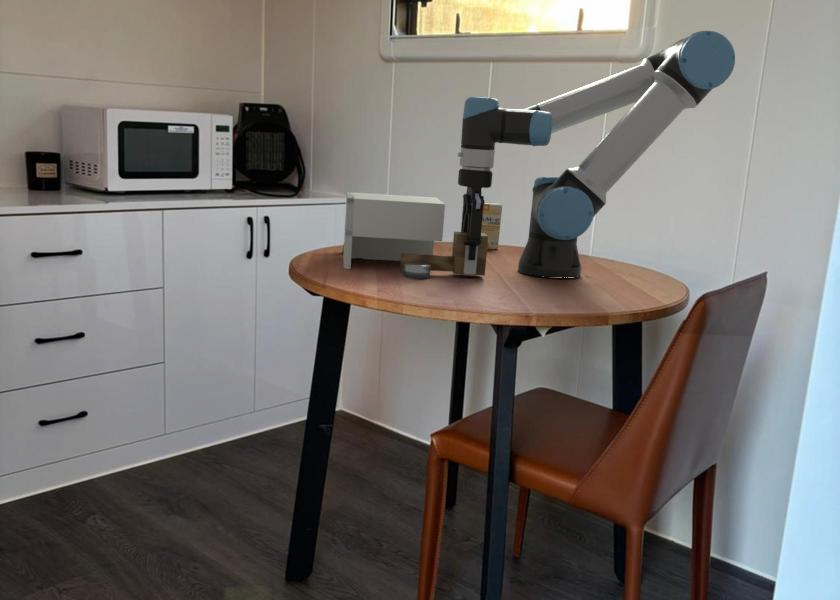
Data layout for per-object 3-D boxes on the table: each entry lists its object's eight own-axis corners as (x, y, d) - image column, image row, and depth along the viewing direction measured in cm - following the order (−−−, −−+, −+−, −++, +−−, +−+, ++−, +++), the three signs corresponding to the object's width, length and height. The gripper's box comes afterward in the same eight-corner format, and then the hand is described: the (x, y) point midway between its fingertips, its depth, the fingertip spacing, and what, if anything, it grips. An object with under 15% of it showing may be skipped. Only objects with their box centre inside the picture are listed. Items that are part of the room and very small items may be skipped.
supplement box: (470, 249, 225) (474, 202, 222) (466, 246, 230) (470, 201, 227) (498, 250, 227) (502, 204, 224) (493, 247, 231) (497, 202, 229)
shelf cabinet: (431, 261, 199) (436, 197, 195) (439, 273, 183) (445, 204, 180) (343, 257, 196) (346, 191, 193) (343, 268, 181) (347, 198, 177)
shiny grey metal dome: (427, 275, 181) (428, 262, 180) (431, 280, 175) (432, 267, 174) (401, 274, 180) (402, 261, 179) (404, 279, 174) (405, 266, 173)
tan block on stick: (480, 271, 185) (484, 233, 183) (484, 275, 180) (488, 236, 178) (399, 267, 183) (401, 228, 181) (401, 271, 178) (403, 231, 176)
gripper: (453, 165, 185) (445, 263, 190) (465, 170, 168) (457, 278, 173) (485, 167, 186) (476, 265, 191) (500, 172, 169) (491, 279, 174)
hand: (467, 271), depth 182 cm, fingers closed on tan block on stick, 5 cm apart
